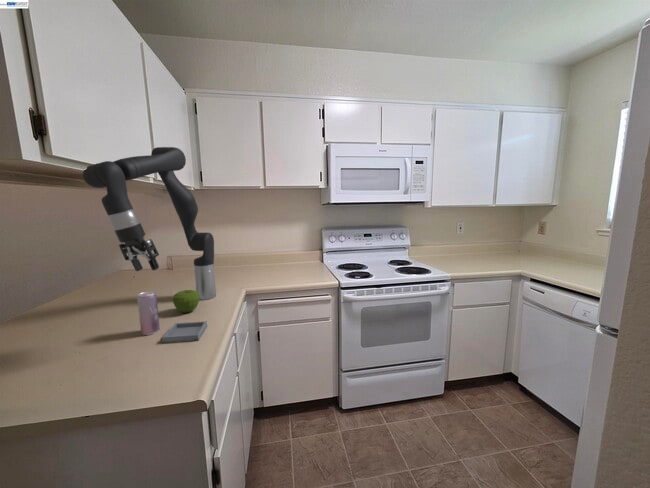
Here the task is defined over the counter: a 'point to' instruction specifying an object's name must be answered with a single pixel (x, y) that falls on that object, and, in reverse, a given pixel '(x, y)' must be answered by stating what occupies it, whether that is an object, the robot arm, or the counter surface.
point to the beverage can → (148, 312)
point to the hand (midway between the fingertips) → (147, 269)
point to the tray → (185, 332)
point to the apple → (186, 300)
